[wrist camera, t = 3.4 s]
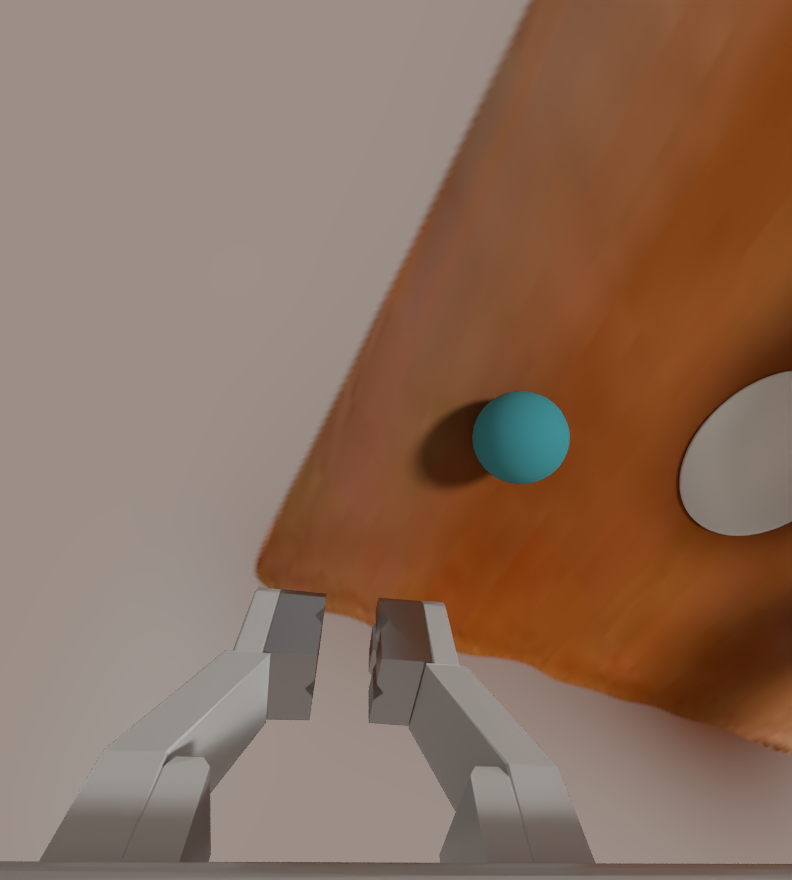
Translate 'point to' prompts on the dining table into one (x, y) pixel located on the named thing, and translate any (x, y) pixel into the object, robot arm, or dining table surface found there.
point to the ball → (521, 437)
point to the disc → (743, 461)
